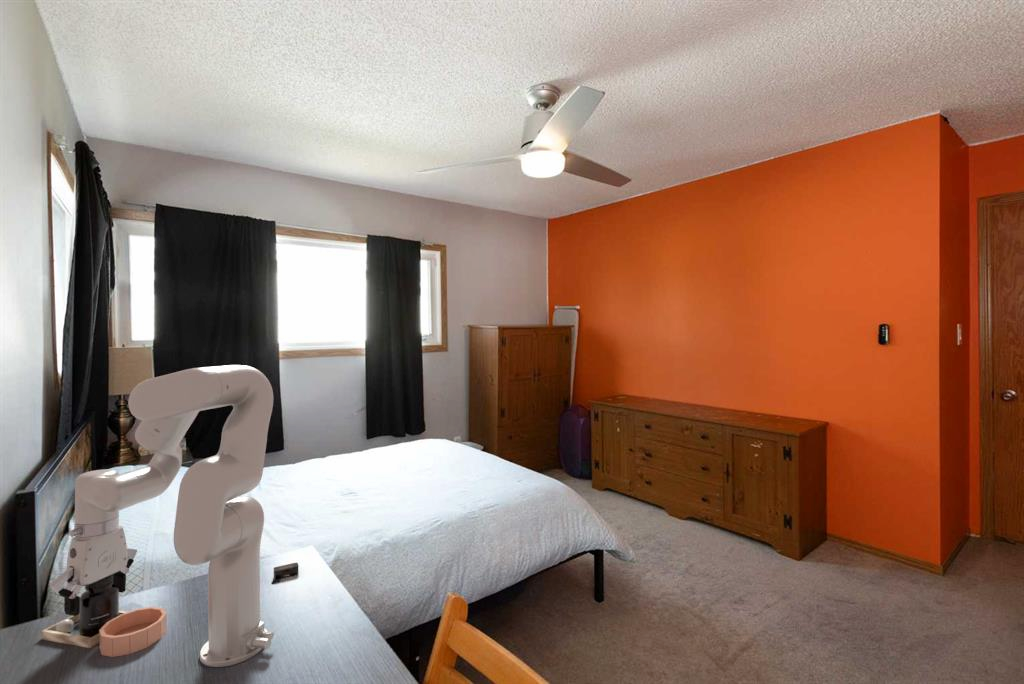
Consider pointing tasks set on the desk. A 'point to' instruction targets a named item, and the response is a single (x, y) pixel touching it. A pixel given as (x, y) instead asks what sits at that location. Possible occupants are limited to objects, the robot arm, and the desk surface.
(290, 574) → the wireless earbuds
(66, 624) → the pebble
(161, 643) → the desk surface
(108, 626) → the bowl
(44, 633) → the tray
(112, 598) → the supplement bottle
